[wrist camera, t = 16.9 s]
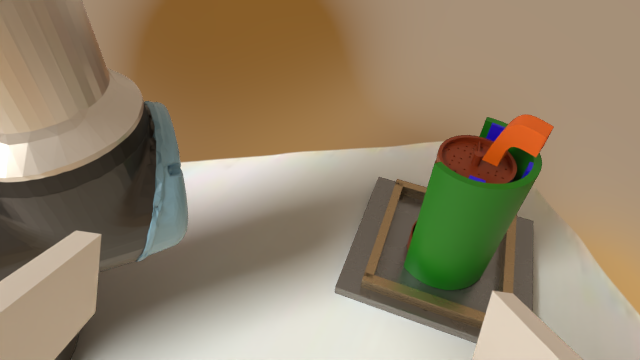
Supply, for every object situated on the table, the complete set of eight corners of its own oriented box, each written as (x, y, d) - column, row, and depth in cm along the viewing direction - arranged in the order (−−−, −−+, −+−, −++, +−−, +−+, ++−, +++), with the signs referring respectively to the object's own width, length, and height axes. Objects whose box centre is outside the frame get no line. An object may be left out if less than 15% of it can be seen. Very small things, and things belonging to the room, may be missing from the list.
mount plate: (334, 292, 45) (336, 279, 43) (377, 183, 57) (380, 168, 55) (526, 361, 40) (538, 350, 39) (529, 227, 52) (538, 213, 51)
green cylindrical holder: (423, 209, 52) (470, 68, 38) (494, 238, 49) (574, 98, 35) (393, 269, 46) (436, 126, 32) (472, 306, 43) (560, 168, 29)
